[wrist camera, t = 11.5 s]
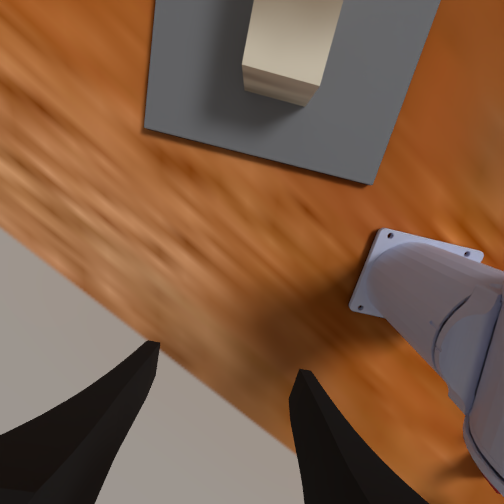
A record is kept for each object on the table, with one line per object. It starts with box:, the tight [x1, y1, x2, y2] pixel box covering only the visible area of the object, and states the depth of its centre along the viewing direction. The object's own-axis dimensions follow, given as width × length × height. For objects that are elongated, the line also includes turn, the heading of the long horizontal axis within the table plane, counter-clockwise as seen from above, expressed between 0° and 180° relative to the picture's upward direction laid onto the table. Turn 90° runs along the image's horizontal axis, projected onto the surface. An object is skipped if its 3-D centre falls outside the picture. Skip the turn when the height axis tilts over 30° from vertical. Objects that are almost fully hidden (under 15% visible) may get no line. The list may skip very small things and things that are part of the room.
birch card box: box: [242, 0, 343, 107], centre depth 14 cm, size 8×4×4 cm, turn 167°
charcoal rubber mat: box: [144, 0, 440, 185], centre depth 16 cm, size 18×16×1 cm
